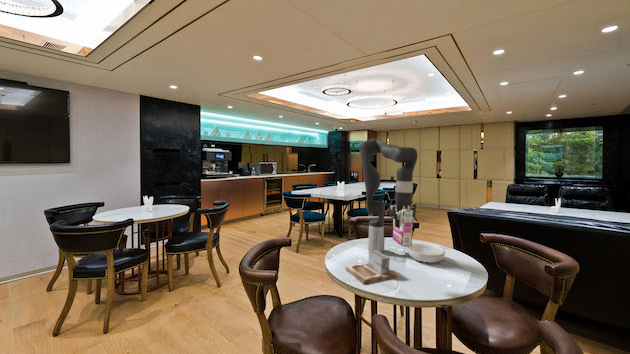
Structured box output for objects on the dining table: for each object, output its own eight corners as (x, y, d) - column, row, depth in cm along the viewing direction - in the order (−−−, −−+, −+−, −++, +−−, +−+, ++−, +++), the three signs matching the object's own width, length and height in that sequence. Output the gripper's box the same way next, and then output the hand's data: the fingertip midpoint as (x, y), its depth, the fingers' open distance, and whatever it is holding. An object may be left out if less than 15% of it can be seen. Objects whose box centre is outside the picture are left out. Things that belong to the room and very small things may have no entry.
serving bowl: (440, 255, 165) (441, 244, 164) (447, 269, 145) (448, 256, 144) (405, 251, 170) (406, 241, 170) (407, 264, 150) (408, 252, 150)
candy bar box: (412, 246, 117) (414, 210, 116) (401, 246, 117) (403, 210, 115) (402, 238, 128) (403, 205, 127) (392, 238, 128) (393, 205, 126)
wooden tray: (376, 264, 149) (377, 248, 148) (396, 277, 134) (397, 259, 133) (345, 270, 141) (346, 252, 141) (363, 284, 126) (363, 265, 125)
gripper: (410, 189, 127) (408, 223, 128) (385, 190, 121) (384, 226, 122) (422, 191, 120) (420, 227, 121) (396, 192, 114) (395, 230, 116)
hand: (402, 226), depth 122 cm, fingers closed on candy bar box, 6 cm apart
